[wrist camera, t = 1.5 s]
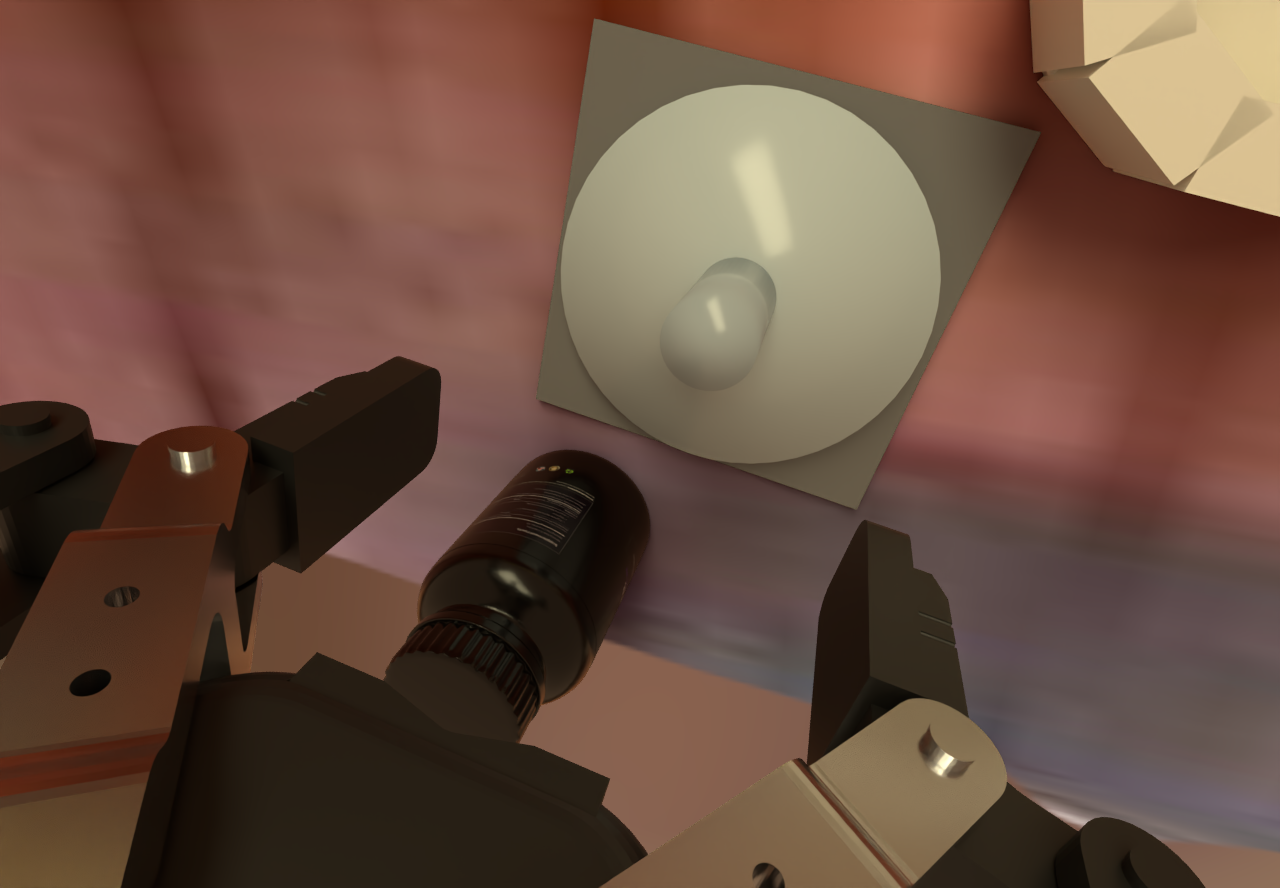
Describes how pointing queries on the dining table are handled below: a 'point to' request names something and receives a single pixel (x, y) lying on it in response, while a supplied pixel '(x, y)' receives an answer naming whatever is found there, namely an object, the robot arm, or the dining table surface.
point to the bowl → (1170, 90)
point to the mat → (919, 132)
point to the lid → (750, 274)
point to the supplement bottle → (523, 597)
